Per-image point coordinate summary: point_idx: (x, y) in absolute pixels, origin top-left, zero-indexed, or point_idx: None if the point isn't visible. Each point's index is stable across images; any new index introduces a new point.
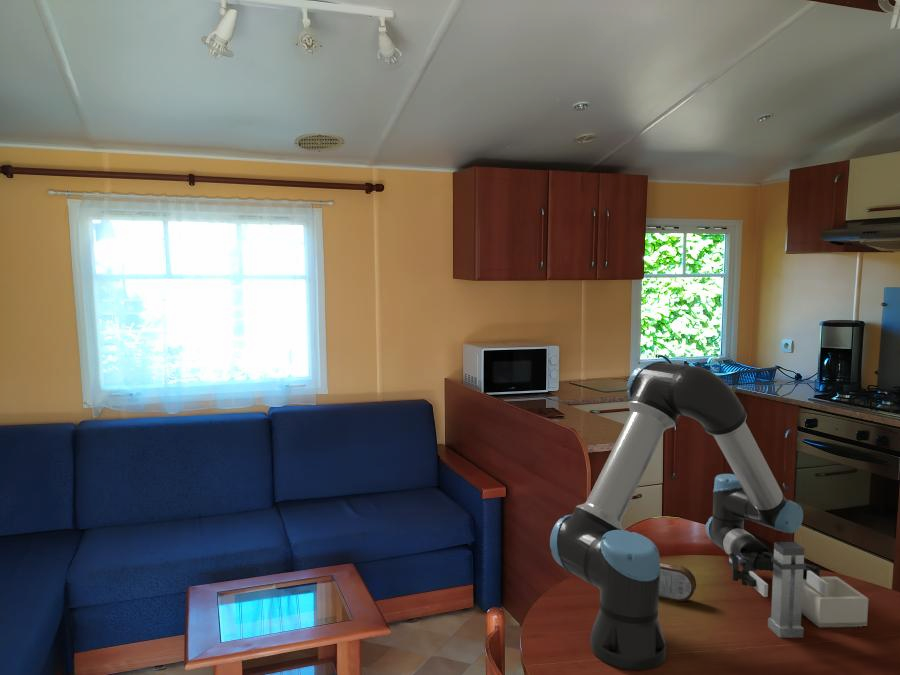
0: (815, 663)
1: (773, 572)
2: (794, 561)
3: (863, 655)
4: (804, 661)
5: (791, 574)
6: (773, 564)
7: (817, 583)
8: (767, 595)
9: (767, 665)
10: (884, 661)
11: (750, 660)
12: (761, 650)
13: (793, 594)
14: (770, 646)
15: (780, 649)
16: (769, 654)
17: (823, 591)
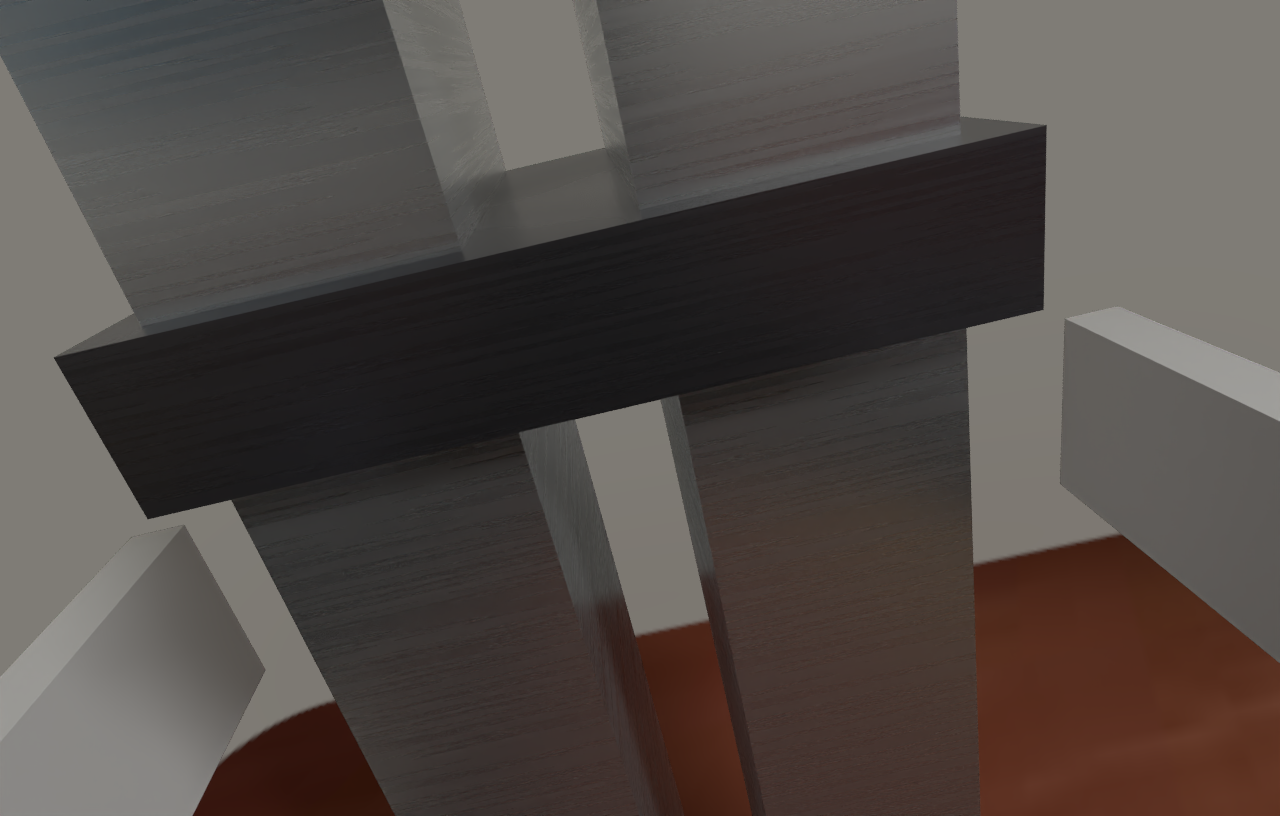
0: (710, 650)
1: (961, 585)
2: (488, 129)
3: (322, 805)
4: None
5: (577, 482)
6: (963, 381)
7: (125, 732)
8: (1061, 467)
9: (1018, 569)
10: (255, 762)
11: (1137, 587)
12: (1073, 711)
13: (649, 692)
14: (998, 784)
15: None
16: (1006, 675)
17: (232, 649)
